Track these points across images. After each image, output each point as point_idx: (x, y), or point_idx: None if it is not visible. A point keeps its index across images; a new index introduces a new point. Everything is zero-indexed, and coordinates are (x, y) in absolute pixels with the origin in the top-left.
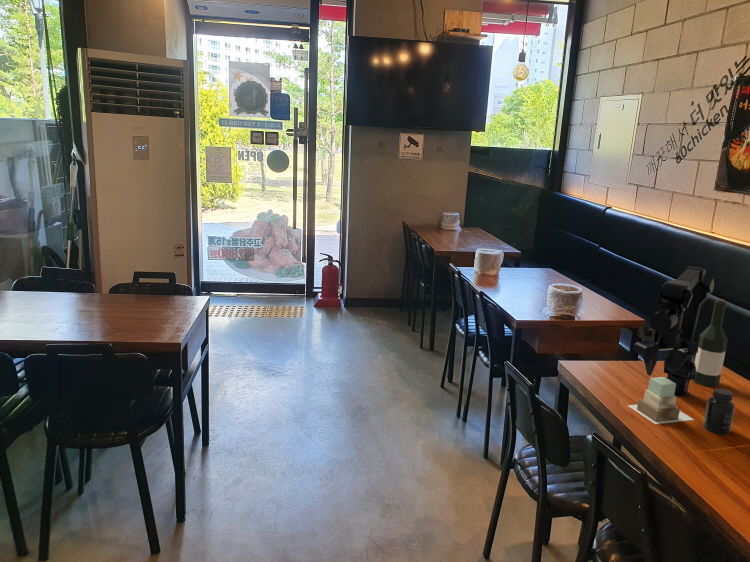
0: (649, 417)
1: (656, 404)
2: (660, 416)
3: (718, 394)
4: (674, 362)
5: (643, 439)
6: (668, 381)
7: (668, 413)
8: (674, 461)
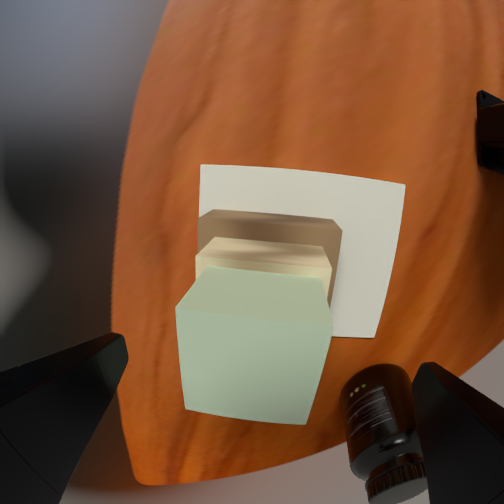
0: None
1: None
2: None
3: (368, 498)
4: (465, 437)
5: None
6: (285, 394)
7: None
8: (137, 423)
